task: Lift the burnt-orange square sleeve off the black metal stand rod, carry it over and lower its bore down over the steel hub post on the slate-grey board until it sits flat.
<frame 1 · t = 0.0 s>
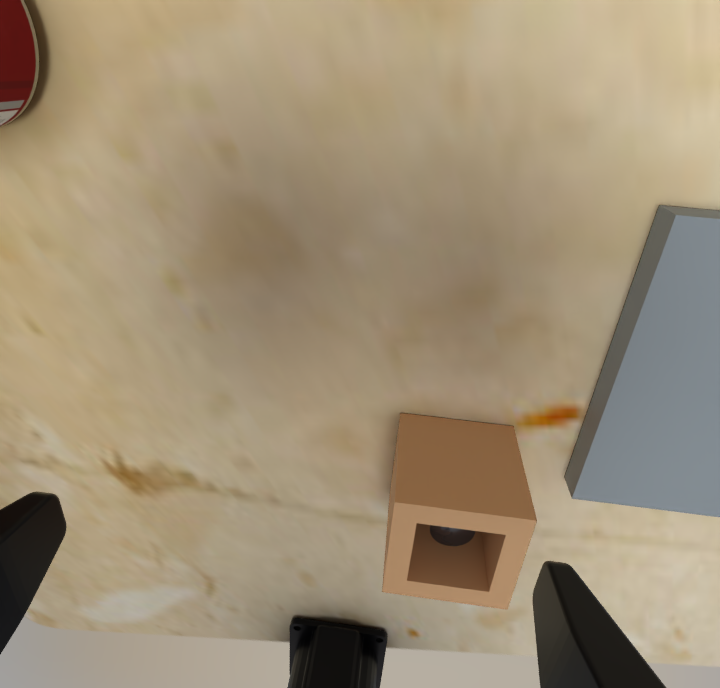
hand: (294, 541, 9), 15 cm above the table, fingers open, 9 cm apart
stand rod: (448, 462, 27), on the table
orange sleeve: (448, 462, 27), on the table
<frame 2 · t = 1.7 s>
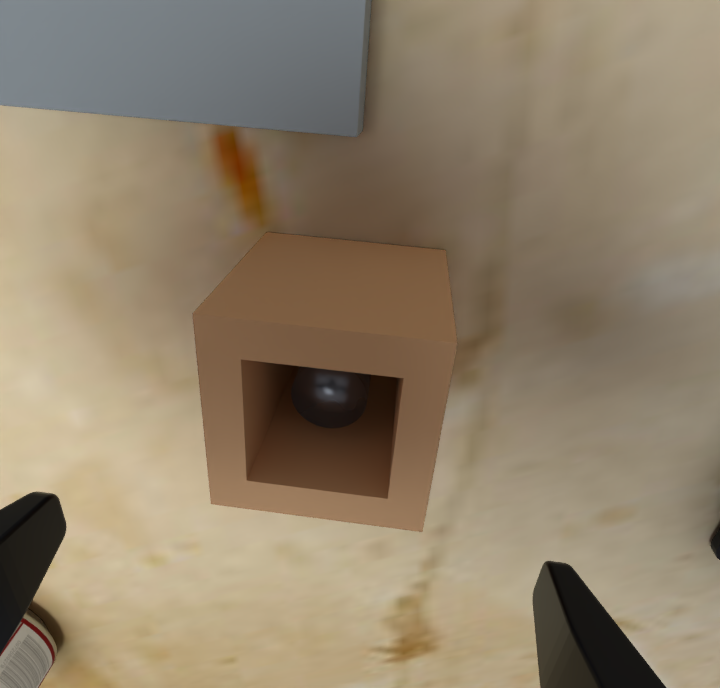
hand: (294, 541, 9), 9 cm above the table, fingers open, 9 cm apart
soda can: (7, 619, 29), on the table
stand rod: (349, 321, 17), on the table
orange sleeve: (349, 321, 17), on the table
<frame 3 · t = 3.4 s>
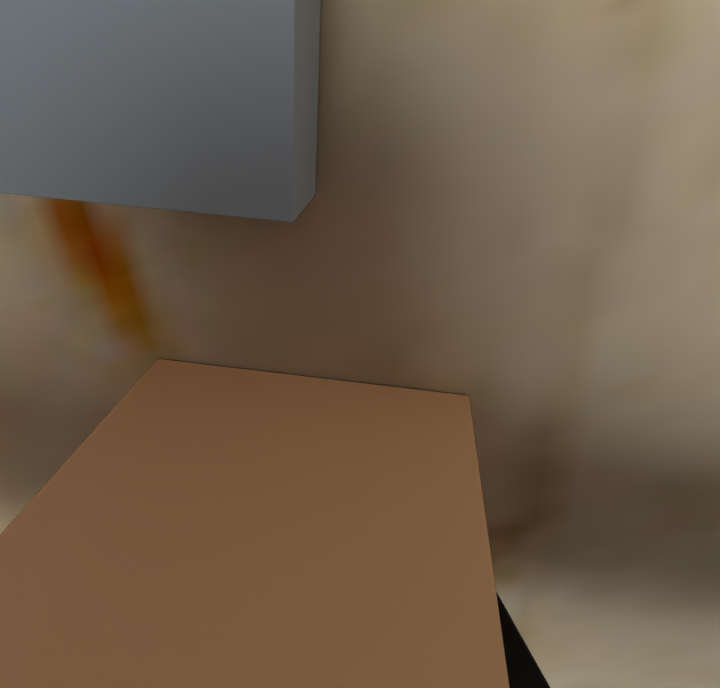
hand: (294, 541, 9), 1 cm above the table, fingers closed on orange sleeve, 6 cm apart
orange sleeve: (307, 492, 10), on the table, touching gripper
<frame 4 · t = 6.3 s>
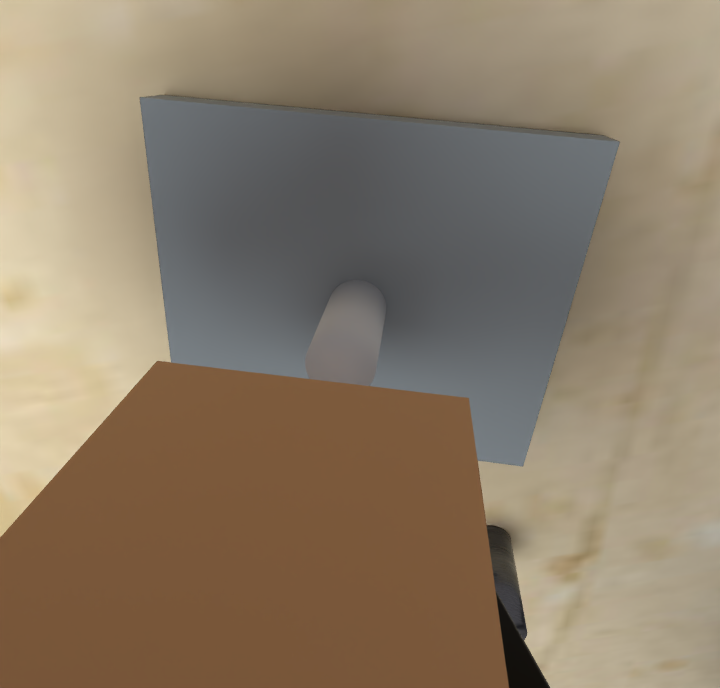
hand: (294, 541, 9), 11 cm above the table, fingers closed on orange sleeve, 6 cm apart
stand rod: (489, 541, 24), on the table
orange sleeve: (307, 494, 10), point 10 cm above the table, touching gripper
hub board: (362, 290, 19), on the table
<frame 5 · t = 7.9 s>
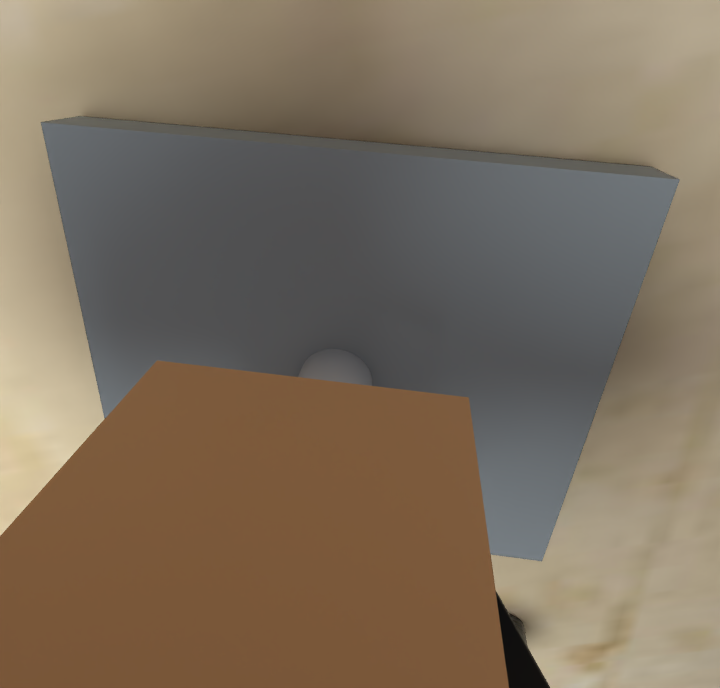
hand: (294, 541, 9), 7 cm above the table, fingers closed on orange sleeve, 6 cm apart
orange sleeve: (306, 493, 10), point 6 cm above the table, touching gripper
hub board: (343, 353, 15), on the table
when the fingers open (4 cm above the table, at t = 9.3 s): orange sleeve drops 1 cm, resting on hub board.
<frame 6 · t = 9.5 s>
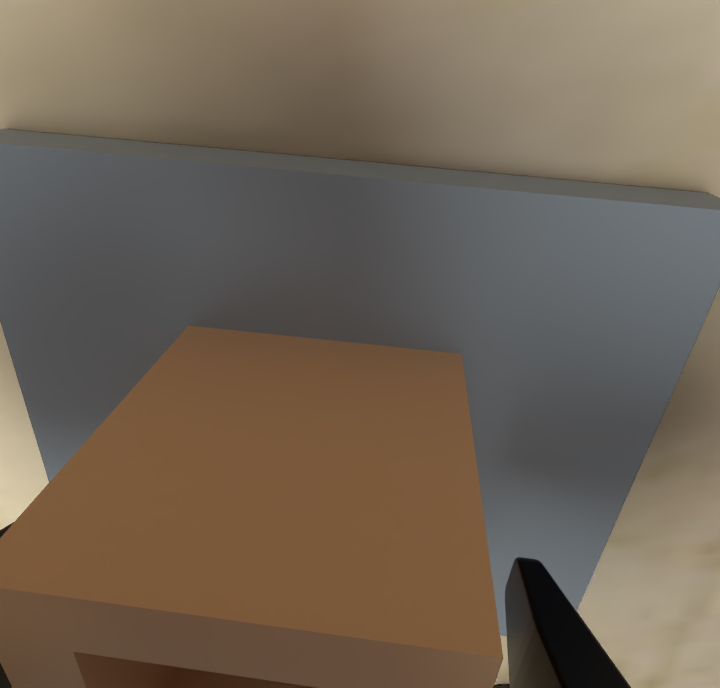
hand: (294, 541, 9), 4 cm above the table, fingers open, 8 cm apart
orange sleeve: (319, 446, 12), point 1 cm above the table, touching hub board
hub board: (329, 406, 13), on the table
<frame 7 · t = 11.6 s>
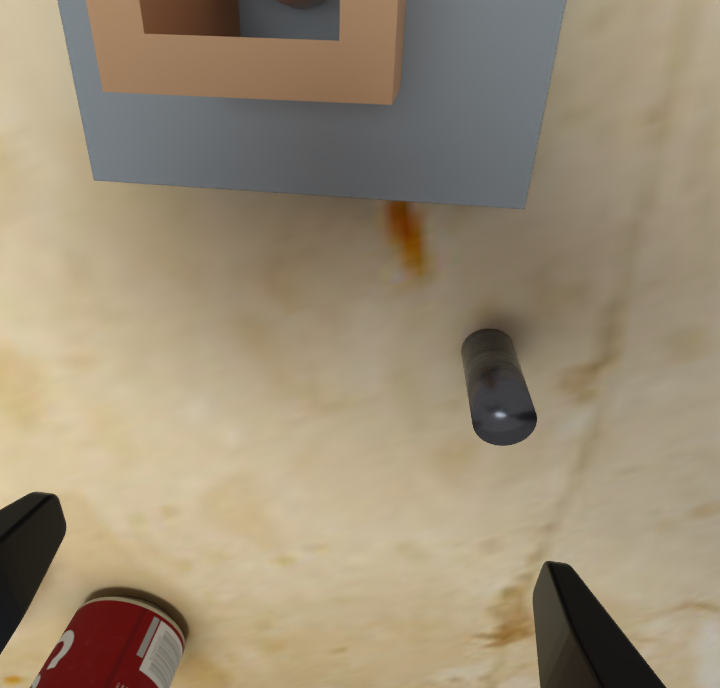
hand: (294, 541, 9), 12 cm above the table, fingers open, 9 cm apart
soda can: (137, 618, 32), on the table
stand rod: (487, 351, 20), on the table
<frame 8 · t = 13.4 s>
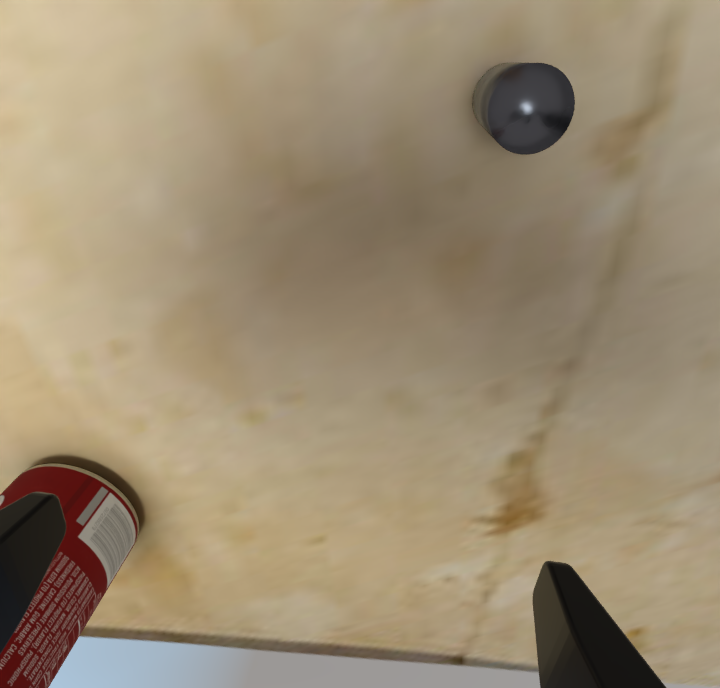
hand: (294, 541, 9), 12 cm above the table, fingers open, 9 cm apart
soda can: (86, 500, 28), on the table
stand rod: (504, 98, 16), on the table
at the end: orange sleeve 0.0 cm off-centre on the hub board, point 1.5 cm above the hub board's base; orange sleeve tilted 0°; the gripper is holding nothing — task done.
